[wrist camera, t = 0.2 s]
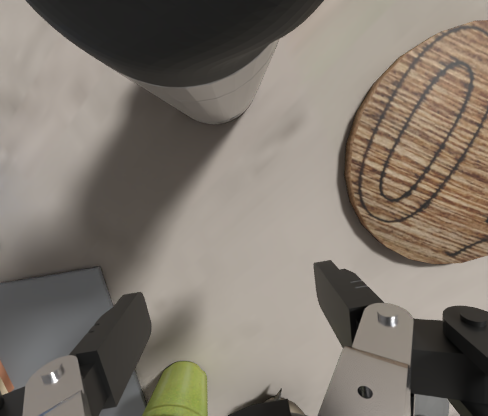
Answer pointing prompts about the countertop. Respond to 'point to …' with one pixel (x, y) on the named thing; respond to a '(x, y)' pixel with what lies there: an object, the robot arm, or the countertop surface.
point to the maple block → (5, 381)
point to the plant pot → (179, 392)
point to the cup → (431, 406)
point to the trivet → (426, 150)
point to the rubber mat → (55, 326)
